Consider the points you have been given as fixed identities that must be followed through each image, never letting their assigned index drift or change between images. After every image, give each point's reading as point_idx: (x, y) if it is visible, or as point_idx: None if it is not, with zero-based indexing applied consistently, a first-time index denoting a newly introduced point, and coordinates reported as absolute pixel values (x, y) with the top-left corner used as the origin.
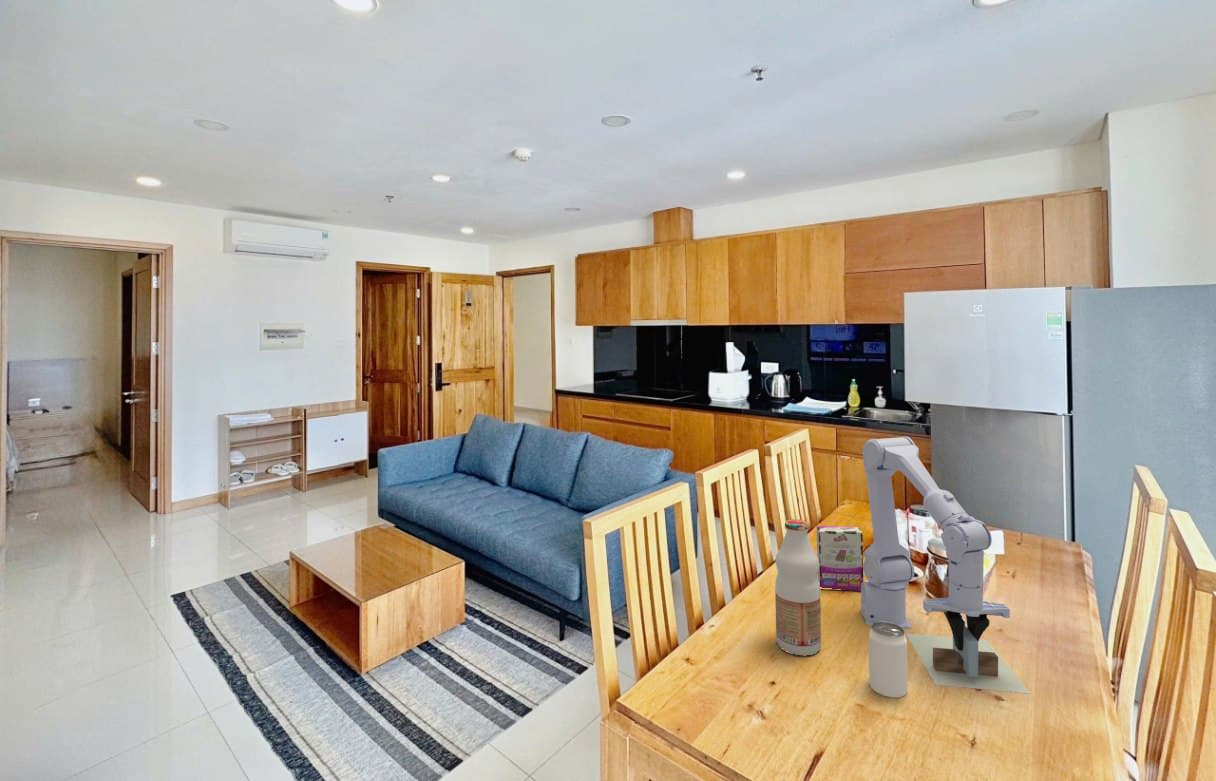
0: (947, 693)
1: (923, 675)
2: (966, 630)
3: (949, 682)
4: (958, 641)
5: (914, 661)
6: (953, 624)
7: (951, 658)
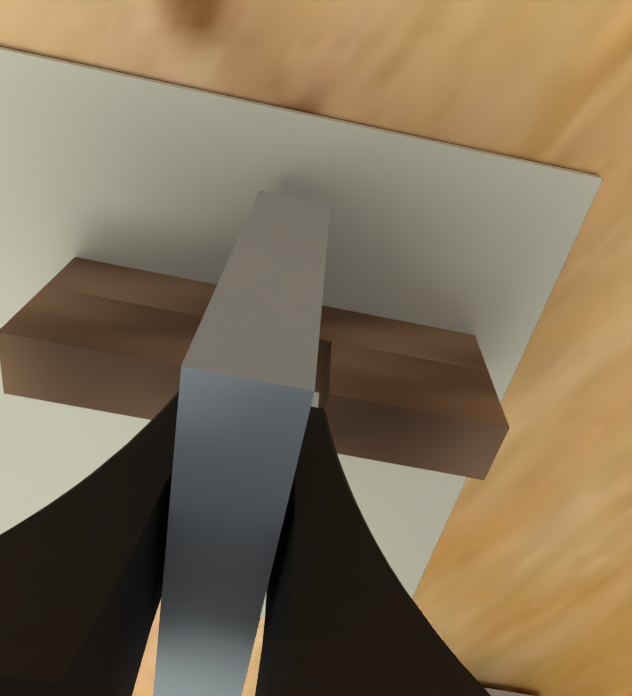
0: (577, 71)
1: (581, 302)
2: (193, 590)
3: (473, 199)
4: (341, 467)
5: (522, 439)
6: (473, 684)
7: (380, 374)
